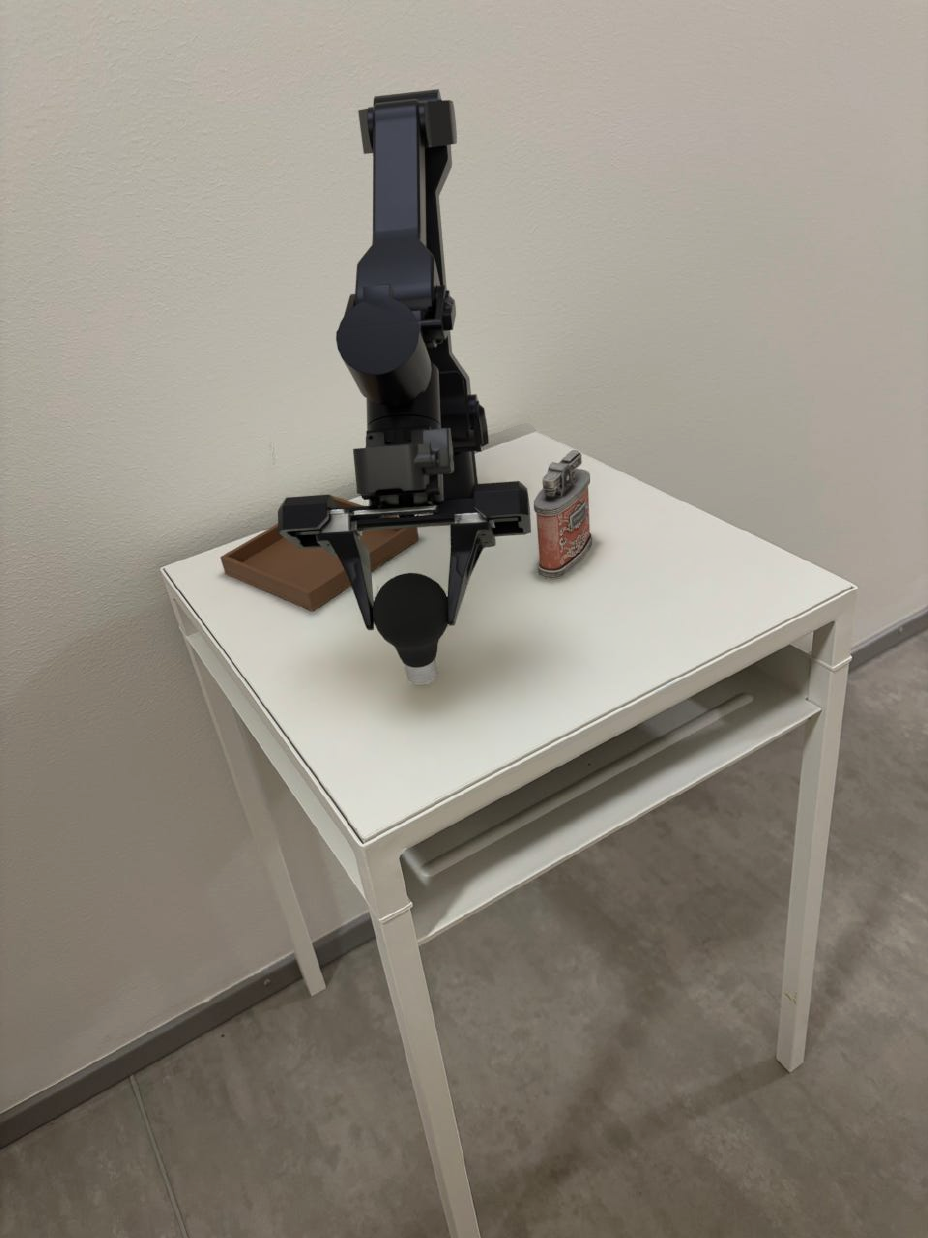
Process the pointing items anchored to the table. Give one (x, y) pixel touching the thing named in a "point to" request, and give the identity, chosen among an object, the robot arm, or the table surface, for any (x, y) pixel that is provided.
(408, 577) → the light bulb
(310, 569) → the tray
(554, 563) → the lighter
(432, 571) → the table surface
